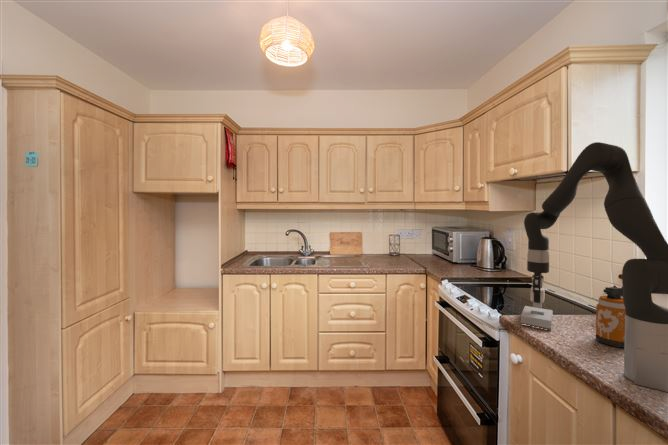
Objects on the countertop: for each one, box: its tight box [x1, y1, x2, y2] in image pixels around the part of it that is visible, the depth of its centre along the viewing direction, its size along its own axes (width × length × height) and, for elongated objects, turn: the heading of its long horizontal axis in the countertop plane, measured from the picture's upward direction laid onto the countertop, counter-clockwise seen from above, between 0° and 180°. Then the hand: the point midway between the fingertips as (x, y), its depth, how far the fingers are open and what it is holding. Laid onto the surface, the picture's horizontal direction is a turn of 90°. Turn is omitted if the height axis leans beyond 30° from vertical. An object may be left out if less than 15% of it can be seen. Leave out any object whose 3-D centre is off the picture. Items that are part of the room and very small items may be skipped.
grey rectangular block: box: [520, 305, 554, 331], centre depth 124 cm, size 16×10×4 cm, turn 142°
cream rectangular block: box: [530, 286, 545, 309], centre depth 123 cm, size 4×4×8 cm
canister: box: [595, 285, 625, 348], centre depth 104 cm, size 9×11×20 cm
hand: (537, 300), depth 123 cm, fingers closed on cream rectangular block, 4 cm apart
